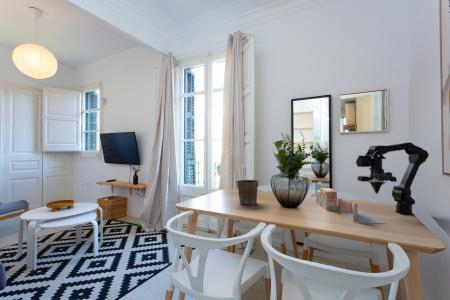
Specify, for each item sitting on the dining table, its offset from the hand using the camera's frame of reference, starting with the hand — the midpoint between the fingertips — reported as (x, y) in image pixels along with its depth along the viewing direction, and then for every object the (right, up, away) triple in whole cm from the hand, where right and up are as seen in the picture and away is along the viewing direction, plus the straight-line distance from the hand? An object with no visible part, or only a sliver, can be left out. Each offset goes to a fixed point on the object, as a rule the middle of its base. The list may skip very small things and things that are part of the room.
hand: (376, 193), depth 127 cm
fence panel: (-17, -12, -7) cm, 22 cm away
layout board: (-13, -12, -3) cm, 18 cm away
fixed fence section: (-16, -12, +5) cm, 21 cm away
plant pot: (-73, -13, +29) cm, 80 cm away
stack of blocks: (-21, -13, +18) cm, 31 cm away
